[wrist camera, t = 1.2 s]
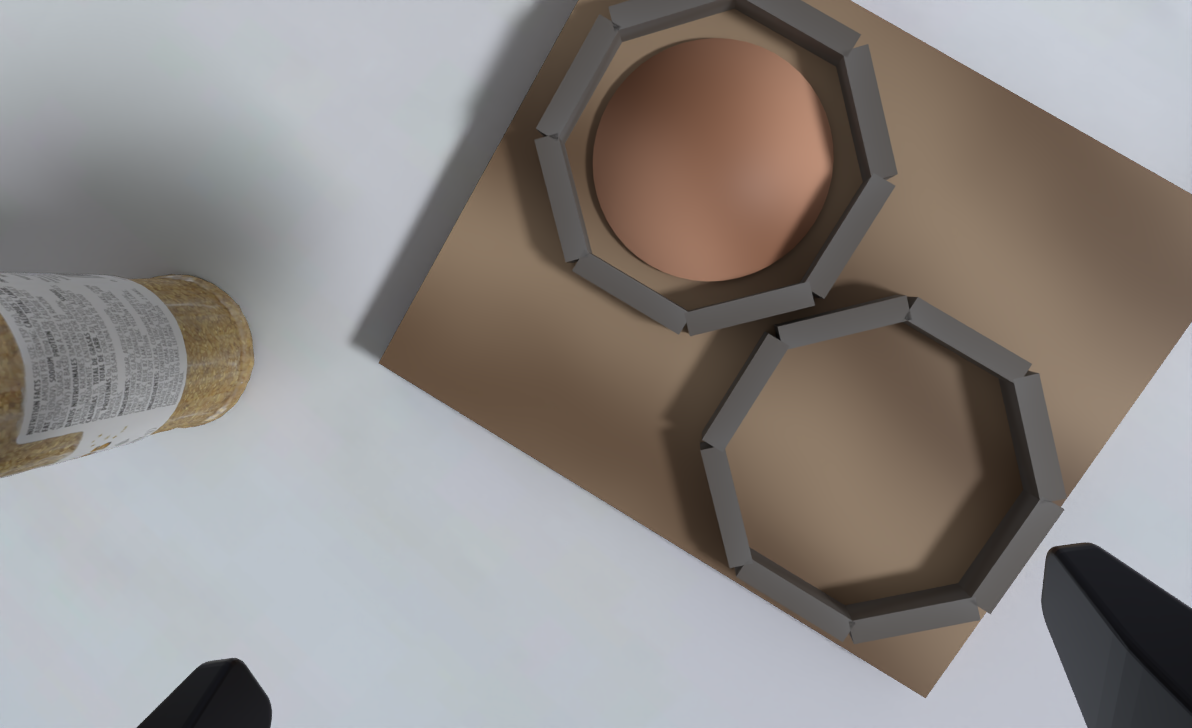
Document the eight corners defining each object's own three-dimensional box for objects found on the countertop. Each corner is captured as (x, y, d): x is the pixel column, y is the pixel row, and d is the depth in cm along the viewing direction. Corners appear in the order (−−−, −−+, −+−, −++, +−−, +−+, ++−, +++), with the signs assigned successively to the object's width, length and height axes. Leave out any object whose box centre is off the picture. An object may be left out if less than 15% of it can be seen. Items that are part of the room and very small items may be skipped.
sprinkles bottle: (120, 422, 25) (-545, 582, 11) (114, 269, 24) (-583, 250, 11) (264, 428, 24) (-257, 604, 11) (261, 273, 24) (-284, 257, 10)
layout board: (913, 676, 23) (937, 717, 21) (394, 359, 24) (364, 366, 21) (1223, 234, 21) (1286, 228, 19) (645, -96, 22) (640, -138, 19)
